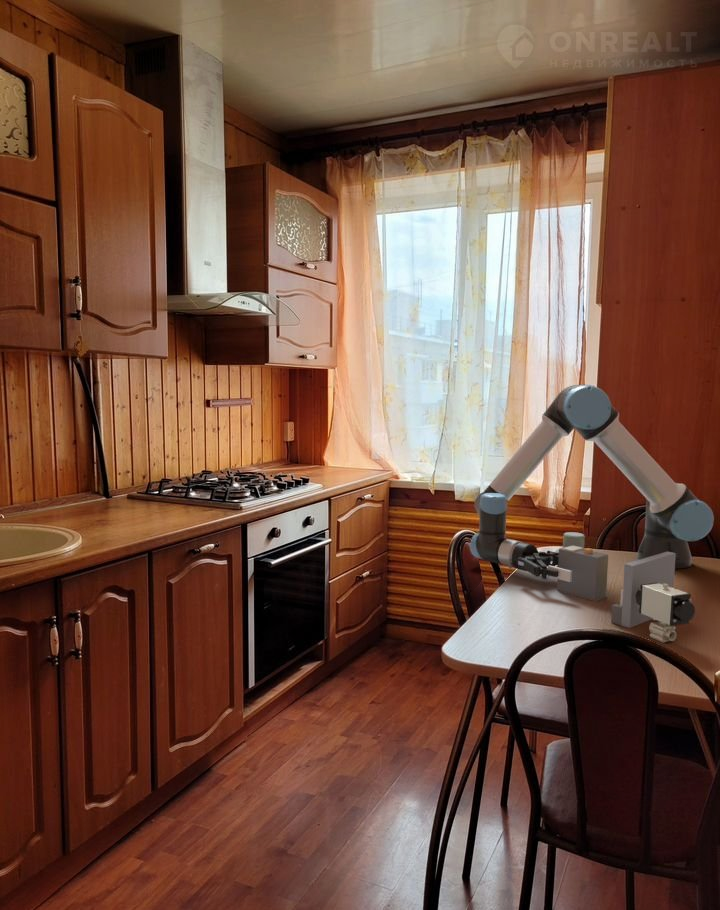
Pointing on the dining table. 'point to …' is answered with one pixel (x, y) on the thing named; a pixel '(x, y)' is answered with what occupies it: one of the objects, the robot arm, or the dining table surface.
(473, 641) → the dining table surface
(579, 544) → the air freshener
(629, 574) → the rail panel
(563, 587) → the block
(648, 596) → the pneumatic valve
